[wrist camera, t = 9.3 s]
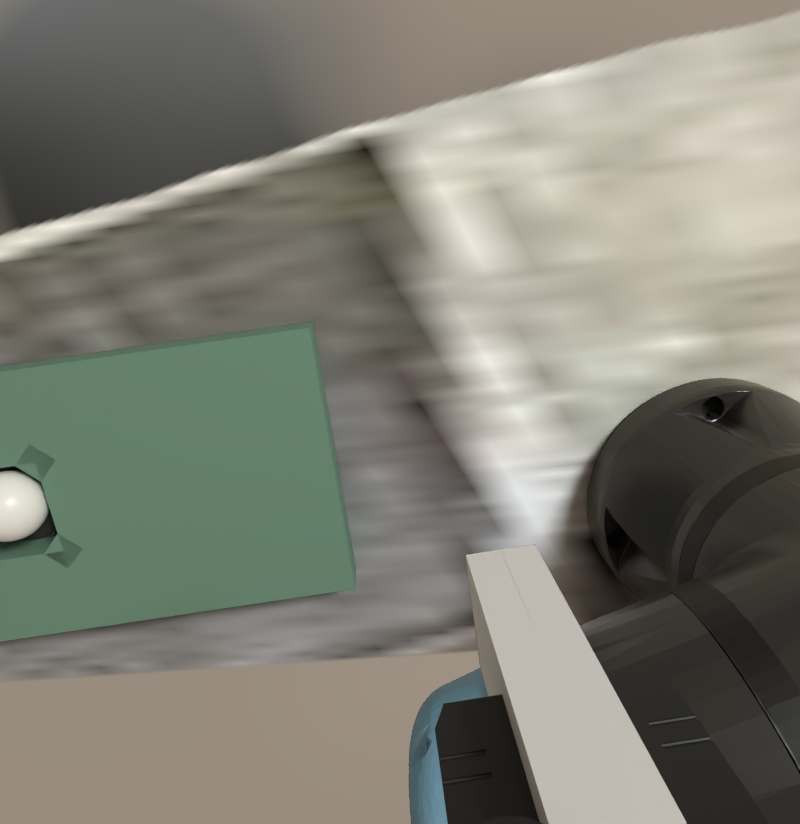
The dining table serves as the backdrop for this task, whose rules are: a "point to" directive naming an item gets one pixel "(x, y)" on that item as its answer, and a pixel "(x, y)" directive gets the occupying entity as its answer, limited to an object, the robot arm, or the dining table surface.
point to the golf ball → (20, 505)
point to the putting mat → (172, 481)
